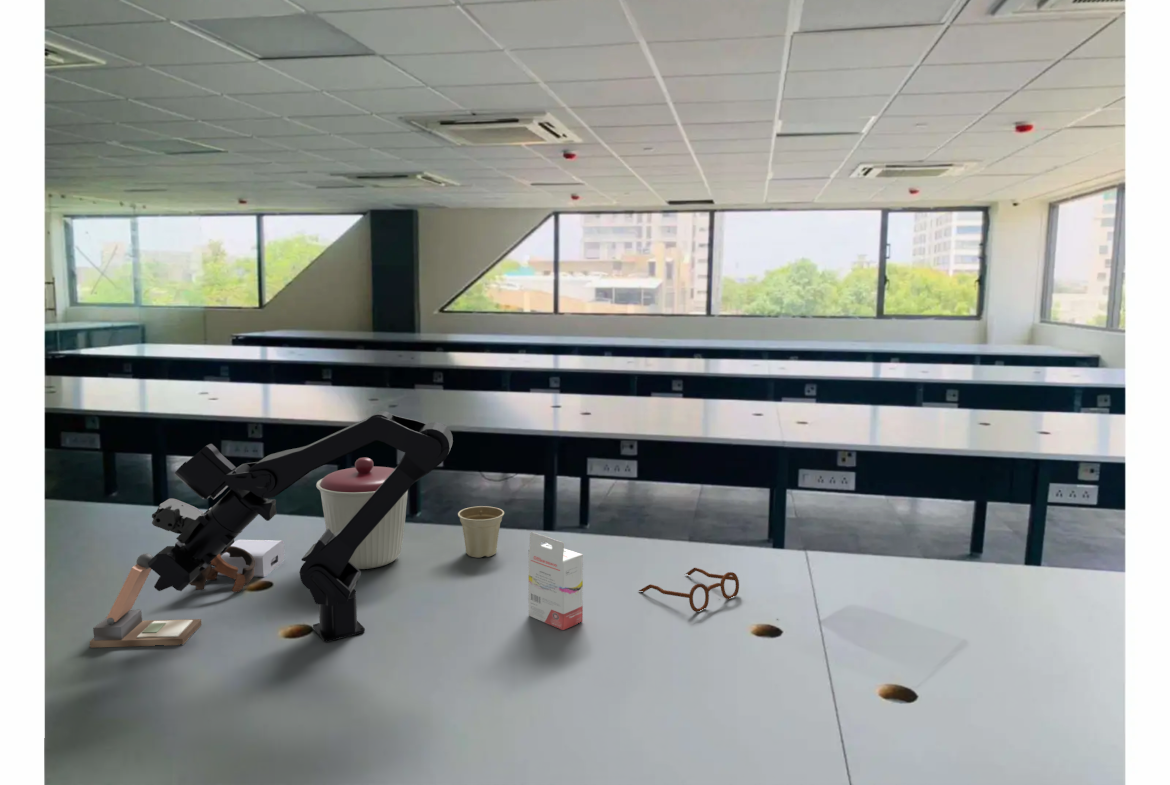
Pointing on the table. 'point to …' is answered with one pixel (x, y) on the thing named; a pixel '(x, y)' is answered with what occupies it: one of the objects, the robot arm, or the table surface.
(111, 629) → the switch unit
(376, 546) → the canister
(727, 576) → the glasses
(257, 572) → the charger
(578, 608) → the ink cartridge box
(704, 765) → the table surface
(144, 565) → the toggle lever
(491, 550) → the flower pot
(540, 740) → the table surface
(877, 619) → the table surface
